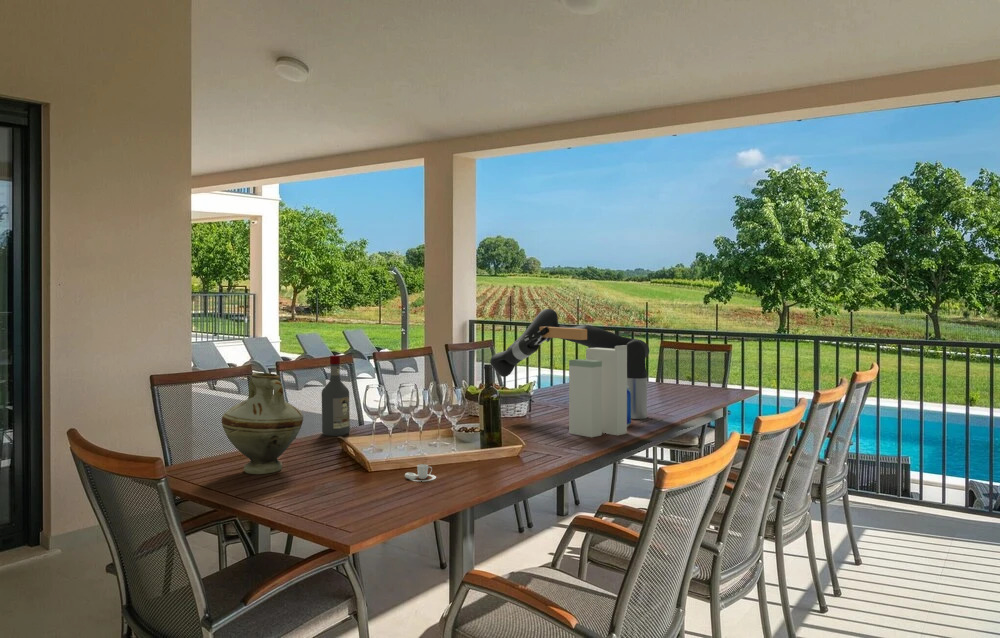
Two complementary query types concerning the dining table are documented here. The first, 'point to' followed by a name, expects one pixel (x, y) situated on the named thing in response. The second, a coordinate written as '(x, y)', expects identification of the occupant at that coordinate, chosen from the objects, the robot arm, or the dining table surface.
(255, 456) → the amphora
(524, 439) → the dining table surface
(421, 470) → the teacup and saucer
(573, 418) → the green-topped post
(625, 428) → the white post
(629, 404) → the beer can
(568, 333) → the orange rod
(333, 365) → the liquor
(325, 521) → the dining table surface
